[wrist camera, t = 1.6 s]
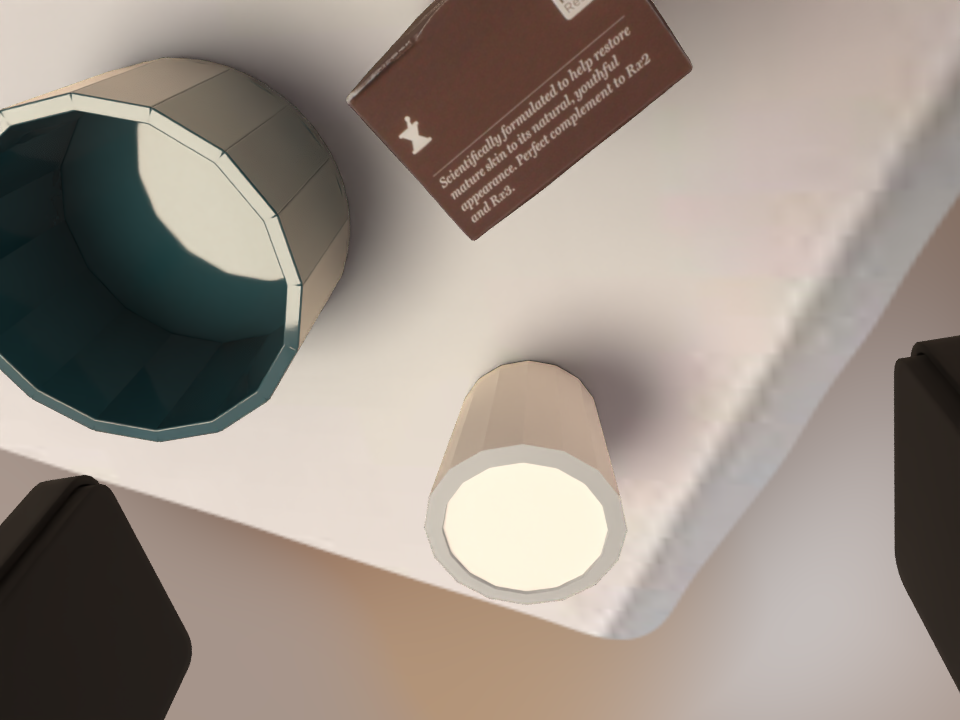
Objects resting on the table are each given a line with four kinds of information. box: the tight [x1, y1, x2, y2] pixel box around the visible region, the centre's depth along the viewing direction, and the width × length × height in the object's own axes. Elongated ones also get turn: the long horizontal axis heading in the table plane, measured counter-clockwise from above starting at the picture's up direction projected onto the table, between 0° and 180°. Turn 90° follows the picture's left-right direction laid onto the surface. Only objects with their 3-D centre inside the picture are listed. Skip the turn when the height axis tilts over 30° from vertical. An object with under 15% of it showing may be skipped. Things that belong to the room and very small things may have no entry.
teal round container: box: [0, 57, 350, 442], centre depth 28 cm, size 11×11×7 cm
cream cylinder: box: [424, 361, 627, 605], centre depth 31 cm, size 7×7×7 cm
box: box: [346, 0, 693, 241], centre depth 22 cm, size 6×4×12 cm
